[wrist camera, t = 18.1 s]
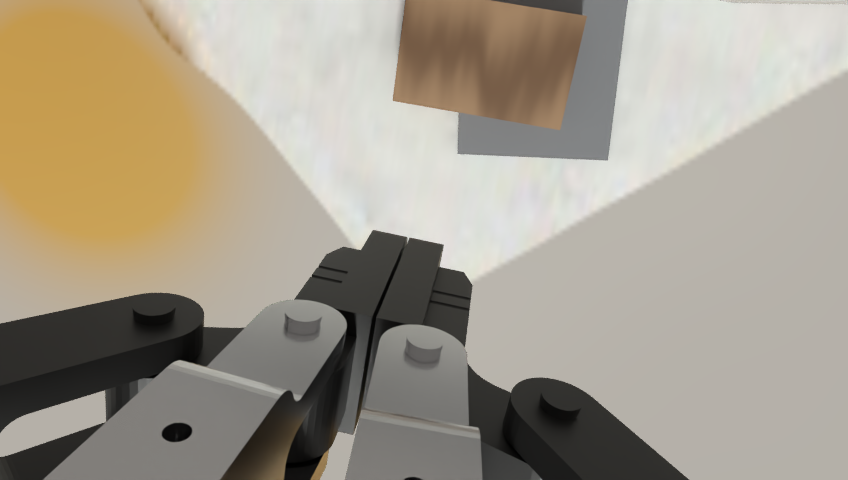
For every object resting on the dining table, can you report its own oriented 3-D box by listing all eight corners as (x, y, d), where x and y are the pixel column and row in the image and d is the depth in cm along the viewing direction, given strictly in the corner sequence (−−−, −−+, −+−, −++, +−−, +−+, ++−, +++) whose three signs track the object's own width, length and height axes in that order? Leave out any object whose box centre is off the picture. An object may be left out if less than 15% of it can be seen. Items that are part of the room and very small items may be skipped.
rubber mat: (458, 151, 38) (457, 153, 37) (464, -23, 34) (463, -23, 34) (606, 157, 37) (607, 160, 36) (628, -22, 33) (630, -22, 33)
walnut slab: (560, 130, 33) (392, 100, 34) (557, 122, 36) (400, 94, 36) (586, 16, 31) (407, -14, 32) (582, 15, 34) (414, -12, 34)
